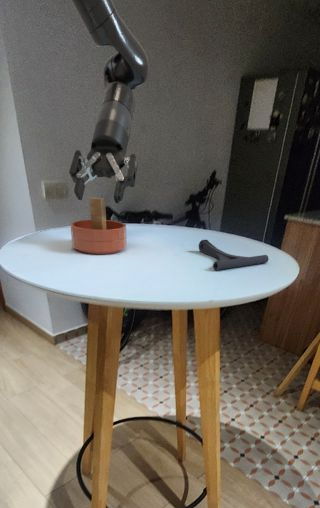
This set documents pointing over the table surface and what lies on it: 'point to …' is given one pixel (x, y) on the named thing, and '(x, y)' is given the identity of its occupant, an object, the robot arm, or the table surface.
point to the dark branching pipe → (229, 257)
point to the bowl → (98, 237)
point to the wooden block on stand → (98, 213)
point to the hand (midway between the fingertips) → (97, 199)
